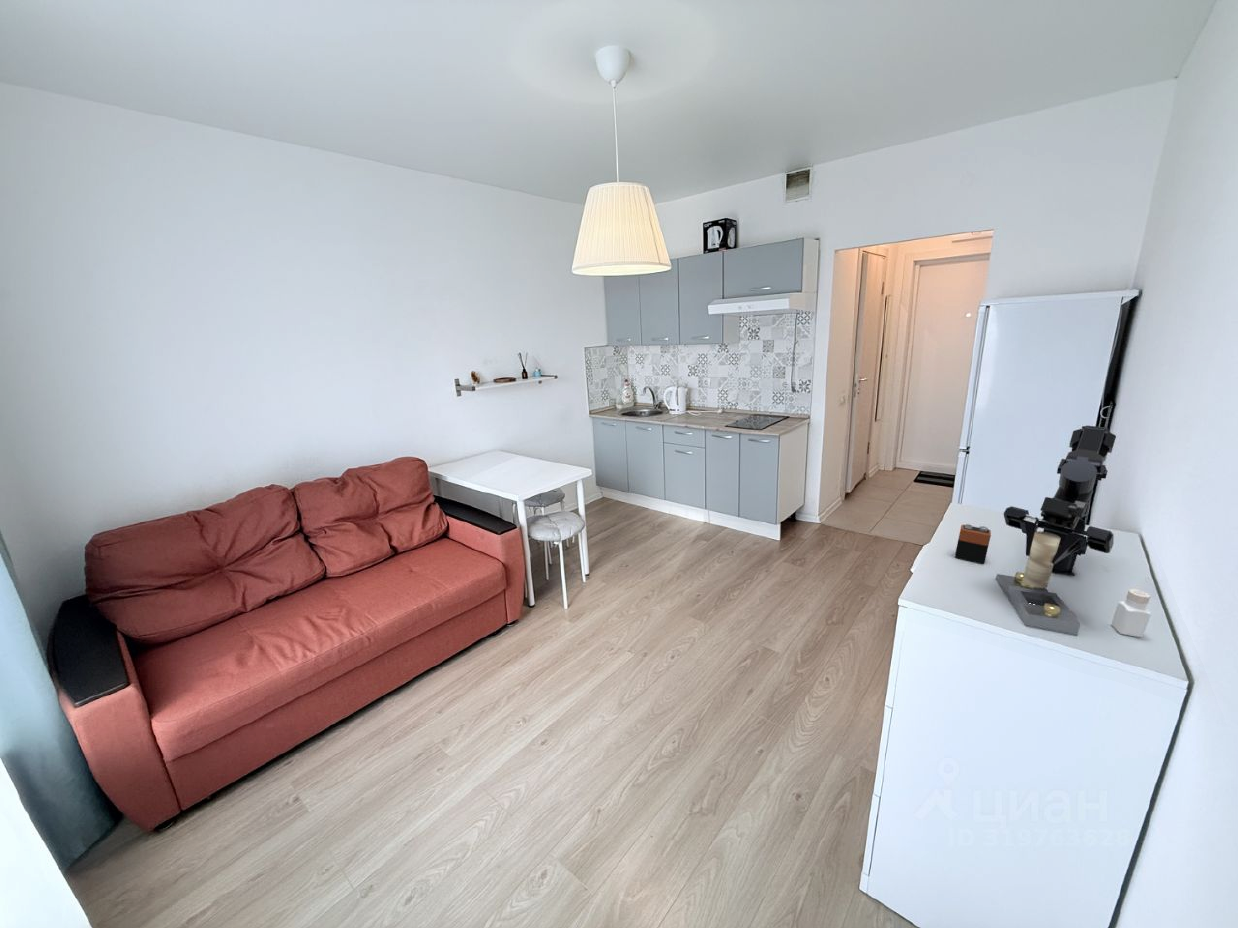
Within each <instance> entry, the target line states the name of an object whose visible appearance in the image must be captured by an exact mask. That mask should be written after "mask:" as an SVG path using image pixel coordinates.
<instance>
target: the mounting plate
mask: <svg viewBox="0 0 1238 928" xmlns="http://www.w3.org/2000/svg"><path fill="white" fill-rule="evenodd" d="M1024 573H1025V572H1022V571H1021V572H1020V571H1018V572H1017V571H1016V573H1015V575H1014V576H1011V575H1005V574H1001V573H996V576H995V580H996V581H997V583H998V585H999V586H1000V588H1001V590H1002V591H1003V593H1004V594H1005V596H1006V598H1007V597H1008V598H1007V599H1008V601H1009V600H1010V601H1009V602H1010V605H1013V606H1012V607H1013V609H1014V610H1015V612H1016V614H1017V615H1018V616H1019V618H1020V620H1021V622H1022V623H1023V624H1024V626H1025V627H1030V628H1036V629H1040V630H1047V631H1051V632H1056V633H1062V634H1067V635H1073V636H1078V633H1079V630H1080V626H1081V622H1080V621H1079V619H1078V618H1077V617H1076V616H1075V615H1074V613H1073V612H1072V611H1071V610H1070V608H1069V607H1068V606H1067V605H1066V604H1065V603H1064V601H1063V600H1062V599H1061V598H1060V596H1059V595H1058V594H1057V593H1055V592H1052V591H1050V592H1049V590H1048V589H1047V587H1046V588H1038V587H1033V586H1030V585H1028V584H1026V583H1025V582H1024V581H1023V577H1024ZM1029 603H1031V604H1029ZM1033 604H1035V605H1033Z"/></svg>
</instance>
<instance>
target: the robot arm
mask: <svg viewBox="0 0 1238 928" xmlns="http://www.w3.org/2000/svg"><path fill="white" fill-rule="evenodd" d="M1116 438H1117V435H1116V434H1114V433H1112V432H1111V431H1109V428H1106V427H1104V426H1103V427H1102V426H1096V425H1095V426H1093V425H1085V426H1084V425H1082V426H1081V428H1080V429H1079V428H1078V429H1074V430H1073V431H1072V435H1071V438H1070V441H1069V445H1068V448H1071V451H1068V452H1067V454H1066V457H1065V458H1061V461H1060V462H1059V464H1058V466H1057V468H1056V469H1057V470H1056V474H1058V475H1059V481H1058V486H1059V487H1058V488H1057V491H1056V492H1055V494H1054V496H1052V497H1048V496H1045V497H1044V500H1043V503H1042V505H1041V507H1040V510H1039V511H1041V513H1040V517H1042V518H1038V517H1036V516H1034V515H1030V512H1029V509H1024V508H1019V507H1016V506H1013V505H1012V506H1009V507H1006V508H1005V510H1004V512H1003V518H1004V521H1005V524H1006V526H1008V527H1011V528H1015V529H1018V530H1021V532H1022V533H1023V534H1025V535H1026V538H1025V539H1026V543H1025V556H1026V557H1029V554H1030V550H1031V546H1032V542H1033V538H1034V534H1035V532H1038V529H1043V531H1042V532H1048V533H1052V534H1055V535H1057V536H1059V537H1060V538H1061V539H1060V543H1059V546H1058V550H1057V553H1056V555H1055V556H1054V558H1053V561H1052V564H1053V568H1052V572H1051V573H1054V574H1060V575H1067V576H1068V575H1069V576H1074V577H1075V576H1076V573H1075V571H1073V570H1074V567H1075V564H1076V561H1077V557H1078V556H1080V557H1081V556H1082V555H1086V552H1087V549H1088V548H1089V549H1090V550H1094V551H1097V552H1100V553H1105V554H1110V553H1111V551H1112V549H1113V547H1114V539H1115V537H1114V533H1113V532H1112V531H1111V530H1107V529H1104V528H1099V527H1096V526H1092V525H1089V526H1088V527H1087V529H1086V523H1085V520H1084V517H1085V515H1086V512H1087V508H1088V505H1089V504H1088V502H1089V500H1090V499H1091V497H1092V494H1093V493H1094V489H1093V488H1094V486H1095V484H1096V483H1097V481H1102V479H1103V480H1104V479H1105V480H1106V478H1107V475H1108V469H1107V467H1106V464H1102V463H1104V462H1105V461H1106V459H1107V456H1108V453H1110V454H1112V452H1113V449H1114V446H1115V443H1116Z"/></svg>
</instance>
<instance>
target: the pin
mask: <svg viewBox="0 0 1238 928" xmlns="http://www.w3.org/2000/svg"><path fill="white" fill-rule="evenodd" d="M1060 539H1061V538H1060V537H1059V536H1057V535H1055V534H1052V533H1048V532H1043V531H1037V532H1035V534H1034V538H1033V542H1032V546H1031V550H1030V554H1029V556H1028V558H1027V562H1026V566H1025V571H1024V572H1023V573H1024V577H1023V581H1024V582H1025V583H1026V584H1028V585H1030V586H1033V587H1038V588H1046V589H1047V587H1048V585H1049V582H1050V579H1051V576H1052V573H1053V572H1052V568H1053V564H1052V561H1053V558H1054V556H1055V555H1056V553H1057V550H1058V546H1059V543H1060Z"/></svg>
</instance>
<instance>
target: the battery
mask: <svg viewBox="0 0 1238 928" xmlns="http://www.w3.org/2000/svg"><path fill="white" fill-rule="evenodd" d="M991 534H992V531H991V529H989V527H987V526H982V525H980V526H979V527H978V526H973V525H971V524H970V523H965V524H961V525H960V530H959V534H958V539H957V544H956V547H955V548H956V549H955V558H956V559H959V560H964V561H968V562H973V563H976V564H982V565H984V564H985V561H986V558H987V554H988V553H987V552H988V549H989V544H990V541H991V536H992V535H991Z"/></svg>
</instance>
